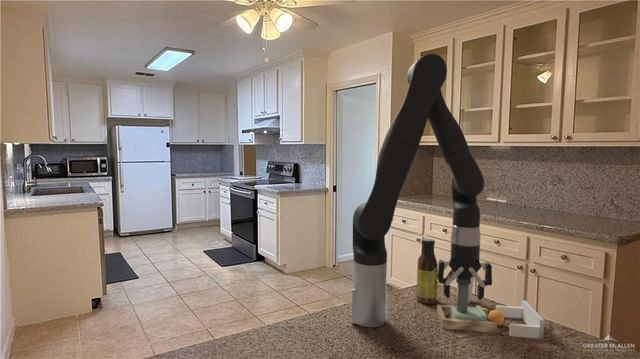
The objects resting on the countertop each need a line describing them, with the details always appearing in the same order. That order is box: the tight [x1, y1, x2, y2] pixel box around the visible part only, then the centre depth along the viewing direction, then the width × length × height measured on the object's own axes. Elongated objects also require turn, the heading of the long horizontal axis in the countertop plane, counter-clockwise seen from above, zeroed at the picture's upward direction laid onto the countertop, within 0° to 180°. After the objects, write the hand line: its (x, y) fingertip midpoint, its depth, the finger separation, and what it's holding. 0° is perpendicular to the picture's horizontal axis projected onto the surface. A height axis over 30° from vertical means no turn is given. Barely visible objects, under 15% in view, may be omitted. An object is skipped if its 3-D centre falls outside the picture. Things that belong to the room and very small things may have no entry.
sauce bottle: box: [416, 238, 439, 305], centre depth 125 cm, size 7×6×20 cm
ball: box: [487, 309, 505, 326], centre depth 109 cm, size 4×4×4 cm
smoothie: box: [455, 276, 475, 304], centre depth 125 cm, size 6×6×14 cm
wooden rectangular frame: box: [436, 304, 498, 334], centre depth 111 cm, size 14×10×2 cm
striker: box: [449, 277, 488, 321], centre depth 110 cm, size 8×7×13 cm
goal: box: [495, 300, 545, 339], centre depth 108 cm, size 8×13×5 cm, turn 172°
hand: (463, 298), depth 110 cm, fingers open, 8 cm apart
